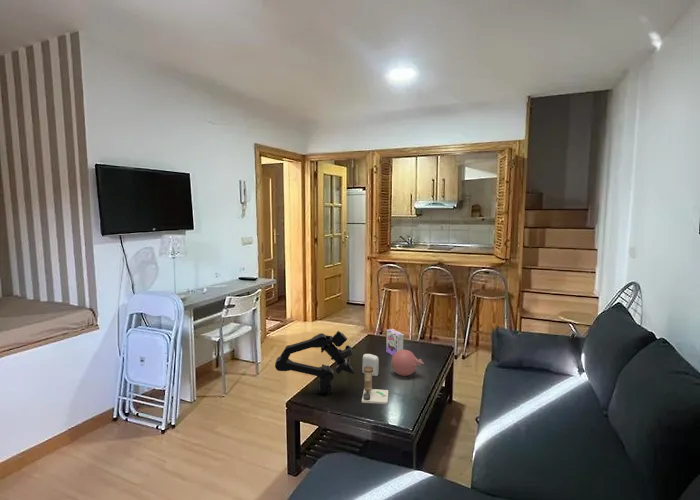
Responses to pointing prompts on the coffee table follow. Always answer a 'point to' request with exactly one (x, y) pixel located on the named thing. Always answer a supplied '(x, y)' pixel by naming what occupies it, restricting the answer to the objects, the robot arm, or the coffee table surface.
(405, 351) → the balloon
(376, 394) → the dial board
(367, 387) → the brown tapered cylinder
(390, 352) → the candy box
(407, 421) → the coffee table surface
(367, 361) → the photo printer
